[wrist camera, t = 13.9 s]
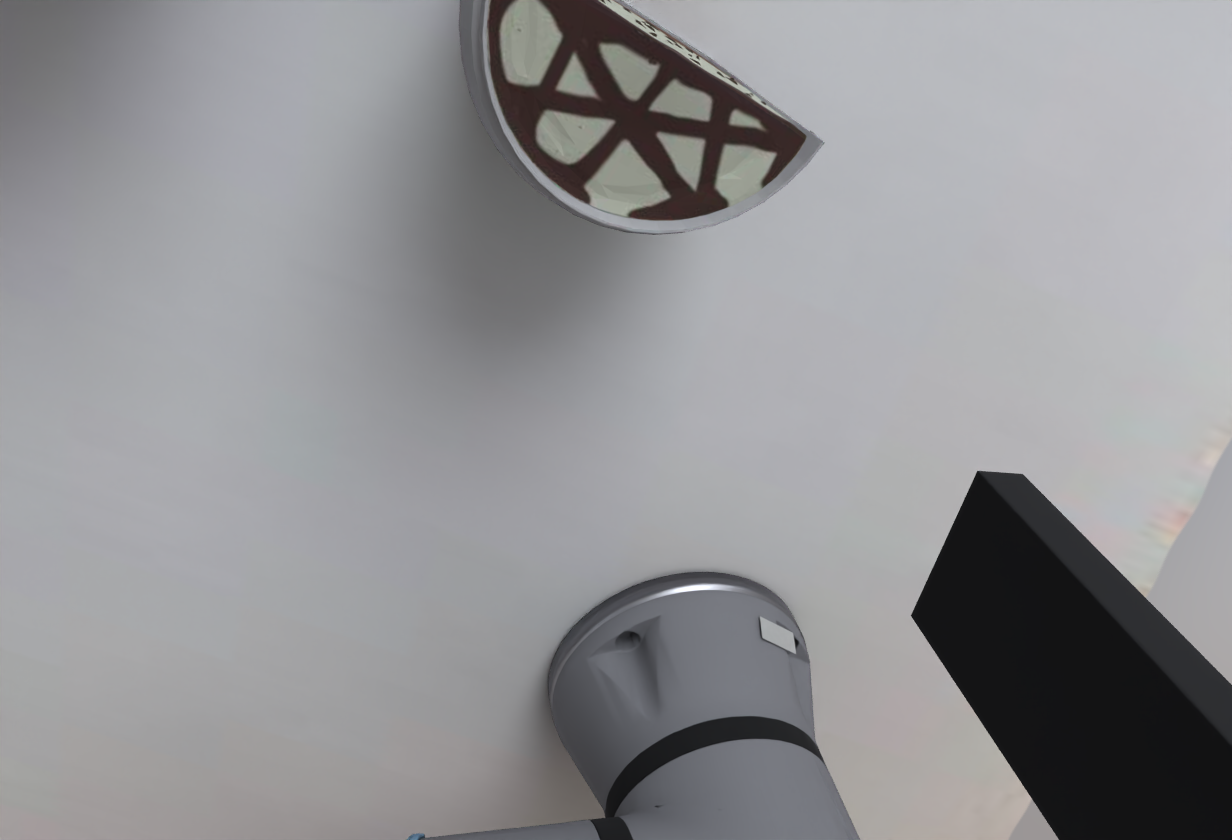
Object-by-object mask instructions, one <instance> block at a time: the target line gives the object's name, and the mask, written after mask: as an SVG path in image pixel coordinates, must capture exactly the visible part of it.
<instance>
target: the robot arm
mask: <svg viewBox="0 0 1232 840" xmlns="http://www.w3.org/2000/svg"><path fill="white" fill-rule="evenodd" d="M911 616H912V618H913V620H914V621H915V623H916V624H917V626H918V627H919V629H920V630H921V632H922V633H923V635H924V636H925V638H926V639H927V641H928V642H929V644H930V645H931V647H932V648H933V650H934V651H935V653H936V654H937V656H938V657H939V659H940V660H941V662H942V663H943V665H944V666H945V668H946V669H947V671H948V672H949V674H950V675H951V677H952V678H953V680H954V682H955V683H956V685H957V686H958V688H959V689H960V691H961V692H962V694H963V695H964V697H965V698H966V700H967V701H968V703H969V704H970V706H971V707H972V709H973V710H974V712H975V713H976V715H977V716H978V718H979V719H980V721H981V722H982V724H983V725H984V727H985V728H986V730H987V731H988V733H989V734H990V736H991V737H992V739H993V740H994V742H995V744H996V745H997V747H998V748H999V750H1000V751H1001V753H1002V754H1003V756H1004V757H1005V759H1006V760H1007V762H1008V763H1009V765H1010V766H1011V768H1012V769H1013V771H1014V772H1015V774H1016V775H1017V777H1018V778H1019V780H1020V781H1021V783H1022V784H1023V786H1024V787H1025V789H1026V790H1027V792H1028V793H1029V795H1030V796H1031V798H1032V799H1033V801H1034V802H1035V804H1036V805H1037V807H1038V808H1039V810H1040V812H1041V813H1042V815H1043V816H1044V817H1045V819H1046V821H1047V822H1048V824H1049V825H1050V827H1051V828H1052V830H1053V831H1054V833H1055V834H1056V836H1057V837H1058V839H1059V840H1232V685H1231V684H1230V683H1229V682H1228V681H1227V680H1226V679H1225V678H1224V677H1223V676H1222V675H1221V674H1220V673H1219V672H1218V671H1217V670H1216V669H1215V668H1214V667H1213V666H1212V665H1211V664H1210V663H1209V662H1208V661H1207V660H1206V659H1205V658H1204V656H1202V655H1201V653H1200V652H1199V651H1198V650H1197V649H1196V648H1194V646H1193V645H1192V644H1191V643H1190V642H1189V641H1187V639H1185V637H1184V636H1183V635H1182V634H1180V632H1179V631H1178V630H1177V629H1176V628H1175V627H1174V626H1173V625H1172V624H1171V623H1170V622H1169V621H1168V620H1167V619H1166V618H1165V617H1164V616H1163V615H1162V614H1161V613H1160V612H1159V611H1158V610H1157V609H1156V608H1155V607H1154V606H1153V605H1152V604H1151V603H1150V602H1149V601H1148V600H1147V599H1146V598H1145V597H1144V596H1143V595H1142V594H1141V593H1140V592H1139V591H1138V590H1137V589H1136V588H1135V587H1134V586H1133V585H1132V584H1131V583H1130V582H1129V581H1128V580H1127V579H1126V578H1125V577H1124V576H1123V575H1122V574H1121V573H1120V572H1119V571H1118V570H1117V569H1116V568H1115V567H1114V566H1113V565H1112V564H1111V563H1110V562H1109V561H1108V560H1107V559H1106V558H1105V557H1104V556H1103V555H1102V554H1101V553H1100V552H1099V551H1098V550H1097V549H1096V548H1095V547H1094V546H1093V545H1092V544H1091V543H1090V542H1089V541H1088V540H1087V539H1086V537H1085V536H1084V535H1083V534H1082V533H1081V532H1080V531H1079V530H1078V529H1077V528H1076V527H1075V526H1074V525H1073V524H1072V523H1071V522H1070V521H1069V520H1068V519H1067V518H1066V517H1065V516H1064V515H1063V514H1062V513H1061V512H1060V511H1059V510H1058V509H1057V508H1056V507H1055V506H1054V505H1053V504H1052V503H1051V502H1050V501H1049V500H1048V499H1047V498H1046V497H1045V496H1044V495H1043V494H1042V493H1041V492H1040V491H1039V490H1038V489H1037V488H1036V487H1035V486H1034V485H1033V484H1032V483H1031V482H1030V481H1029V480H1028V479H1027V478H1026V477H1025V476H1024V475H1023V474H1014V473H1000V472H986V471H977V473H976V476H975V478H974V480H973V482H972V484H971V486H970V489H969V491H968V493H967V495H966V497H965V499H964V502H963V504H962V506H961V508H960V510H959V512H958V515H957V517H956V519H955V521H954V523H953V525H952V528H951V530H950V532H949V534H948V536H947V539H946V541H945V543H944V545H943V547H942V549H941V552H940V554H939V556H938V558H937V560H936V562H935V565H934V567H933V569H932V571H931V573H930V575H929V578H928V580H927V582H926V584H925V586H924V588H923V591H922V593H921V595H920V597H919V599H918V602H917V604H916V606H915V608H914V610H913V612H912V615H911ZM548 692H549V700H550V706H551V712H552V717H553V721H554V724H555V727H556V729H557V732H558V734H559V737H560V739H561V741H562V743H563V745H564V747H565V748H566V750H567V751H568V753H569V755H570V756H571V758H572V760H573V761H574V763H575V765H576V766H577V768H578V770H579V771H580V773H581V774H582V776H583V778H584V779H585V781H586V782H587V784H588V786H589V787H590V789H591V790H592V792H593V794H594V795H595V797H596V798H597V800H598V802H599V803H600V805H601V807H602V808H603V810H604V813H605V817H606V818H601V819H592V820H581V821H574V822H566V823H558V824H548V825H539V826H530V827H521V828H512V829H502V830H493V831H484V832H475V833H466V834H456V835H447V836H438V837H429V838H425V835H424V834H413V835H411V836H410V837H409V838H408V839H407V840H860V838H859V836H858V834H857V832H856V830H855V828H854V825H853V823H852V821H851V819H850V817H849V814H848V812H847V810H846V808H845V806H844V803H843V801H842V799H841V797H840V795H839V792H838V790H837V788H836V786H835V784H834V782H833V779H832V777H831V775H830V773H829V771H828V769H827V767H826V765H825V763H824V760H823V758H822V756H821V753H820V751H819V749H818V746H817V744H816V741H815V732H814V717H813V702H812V688H811V673H810V661H809V656H808V652H807V648H806V644H805V640H804V637H803V635H802V633H801V631H800V629H799V627H798V625H797V623H796V621H795V619H794V617H793V615H792V613H791V611H790V610H789V608H788V607H787V605H786V604H785V603H784V602H783V601H782V600H781V599H780V598H779V597H778V596H777V595H776V594H775V593H773V592H772V591H770V590H769V589H767V588H766V587H764V586H762V585H760V584H758V583H756V582H754V581H751V580H749V579H746V578H742V577H739V576H735V575H730V574H724V573H715V572H692V573H681V574H674V575H669V576H664V577H660V578H656V579H653V580H649V581H646V582H643V583H641V584H638V585H635V586H633V587H631V588H628V589H626V590H624V591H622V592H620V593H618V594H616V595H614V596H613V597H611V598H609V599H607V600H606V601H604V602H603V603H601V604H600V605H598V606H597V607H596V608H594V609H593V610H592V611H590V612H589V613H588V614H587V615H586V616H585V617H584V618H582V619H581V620H580V621H579V622H578V623H577V624H576V625H575V626H574V628H573V629H572V630H571V631H570V632H569V634H568V635H567V636H566V637H565V639H564V640H563V642H562V644H561V645H560V647H559V648H558V650H557V652H556V655H555V657H554V659H553V662H552V665H551V668H550V673H549V680H548Z"/></svg>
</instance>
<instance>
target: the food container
mask: <svg viewBox="0 0 1232 840" xmlns="http://www.w3.org/2000/svg"><path fill="white" fill-rule="evenodd" d="M459 32H460V45H461V57H462V63H463V67H464V71H465V75H466V80H467V84H468V88H469V92H470V95H471V97H472V100H473V102H474V105H475V107H476V110H477V112H478V115H479V117H480V120H481V122H482V124H483V126H484V128H485V129H486V131H487V133H488V134H489V136H490V138H491V139H492V141H493V143H494V144H495V146H496V148H497V149H498V151H499V152H500V153H501V154H502V156H503V157H504V158H505V159H506V160H507V162H508V163H509V164H510V165H511V167H512V168H513V169H514V170H515V171H516V173H517V174H518V175H520V176H521V177H522V178H523V179H524V180H525V181H526V182H528V183H529V184H530V185H531V186H532V187H533V188H534V189H536V190H537V191H538V192H539V193H540V194H542V195H543V196H545V197H547V198H548V199H550V200H551V201H553V202H555V203H556V204H558V205H559V206H561V207H562V208H564V209H566V210H567V211H569V212H570V213H572V214H573V215H576V216H578V217H580V218H583V219H585V220H587V221H590V222H592V223H594V224H597V225H599V226H603V227H607V228H611V229H615V230H619V231H623V232H629V233H640V234H652V235H656V234H671V233H683V232H687V231H692V230H696V229H701V228H705V227H710V226H714V225H717V224H719V223H722V222H724V221H727V220H730V219H732V218H735V217H737V216H740V215H742V214H743V213H745V212H747V211H749V210H751V209H752V208H754V207H756V206H758V205H760V204H761V203H763V202H765V201H766V200H767V199H769V198H770V197H771V196H773V195H774V194H775V193H777V192H778V191H779V190H781V189H782V188H783V187H785V186H786V185H787V184H788V183H789V182H790V181H791V180H792V179H793V178H794V177H795V176H796V175H797V174H798V173H799V172H800V171H801V170H802V169H803V168H804V167H805V166H806V165H807V164H808V163H809V162H810V161H811V159H812V158H813V157H814V156H815V154H816V153H817V152H818V150H819V149H820V148H821V147H822V145H823V144H824V142H823V140H821V139H820V138H819V137H818V136H817V135H815V134H814V133H813V132H811V131H808V130H807V129H806V128H804V127H803V126H802V125H800V124H799V123H797V122H796V121H795V120H793V119H792V118H791V117H789V116H788V115H787V114H785V113H784V112H783V111H781V110H780V109H778V108H777V107H776V106H774V105H773V104H772V103H770V102H769V101H768V100H766V99H765V98H764V97H762V96H761V95H760V94H758V93H757V92H755V91H754V90H753V89H751V88H750V87H749V86H747V85H746V84H745V83H743V82H742V81H741V80H739V79H738V78H736V77H735V76H734V75H732V74H731V73H730V72H728V71H727V70H726V69H724V68H723V67H722V66H720V65H719V64H717V63H716V62H715V61H713V60H712V59H710V58H709V57H707V56H706V55H704V54H703V53H701V52H700V51H698V50H697V49H695V48H693V47H692V46H690V45H689V44H687V43H686V42H684V41H683V40H681V39H680V38H678V37H677V36H675V35H673V34H672V33H670V32H669V31H667V30H666V29H664V28H663V27H661V26H660V25H658V24H656V23H655V22H653V21H652V20H650V19H649V18H647V17H646V16H644V15H643V14H641V13H640V12H638V11H636V10H635V9H633V8H632V7H630V6H629V5H627V4H626V3H624V2H623V1H621V0H460V14H459Z"/></svg>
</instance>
